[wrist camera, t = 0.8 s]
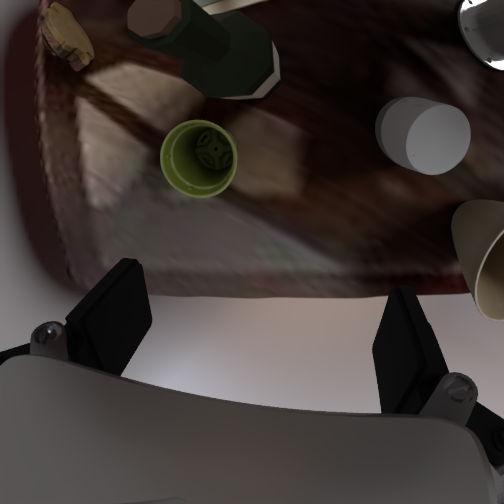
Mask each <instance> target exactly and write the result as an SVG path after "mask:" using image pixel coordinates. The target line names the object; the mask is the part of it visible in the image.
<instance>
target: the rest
mask: <svg viewBox="0 0 504 504" xmlns="http://www.w3.org/2000/svg"><path fill="white" fill-rule="evenodd" d="M193 1H194V2H196V3H197V4H198V5H199V6H200V7H201V8H203V9H204V10H205V11H206V12H207V13H208V14H209V15H211V14H218V13H225V12H230V11H233V10H237V9H240V8H243V7H247V6H250V5H254V4H257V3H261V2H265V1H269V0H193Z"/></svg>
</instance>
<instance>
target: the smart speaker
mask: <svg viewBox="0 0 504 504" xmlns="http://www.w3.org/2000/svg"><path fill="white" fill-rule="evenodd" d="M375 134H376V138H377V142H378V144H379V146H380V148H381V150H382V151H383V152H384V154H385V155H386V156H387V157H388V158H389V159H391V160H392V161H393V162H395V163H397V164H399V165H401V166H403V167H405V168H408V169H411V170H414V171H417V172H420V173H423V174H428V175H437V174H441V173H444V172H447V171H449V170H450V169H452V168H453V167H455V166H456V165H457V164H458V163H459V162H460V161H461V160H462V158H463V157H464V155H465V154H466V152H467V150H468V147H469V143H470V137H471V131H470V125H469V122H468V120H467V118H466V116H465V115H464V114H463V113H462V112H461V111H460V110H459V109H457V108H455V107H453V106H451V105H447V104H443V103H440V102H436V101H432V100H428V99H424V98H420V97H412V96H405V97H399V98H396V99H393V100H391V101H390V102H388V103H387V104H386V105H385V106H384V107H383V108H382V109H381V110H380V112H379V114H378V116H377V119H376V123H375Z"/></svg>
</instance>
